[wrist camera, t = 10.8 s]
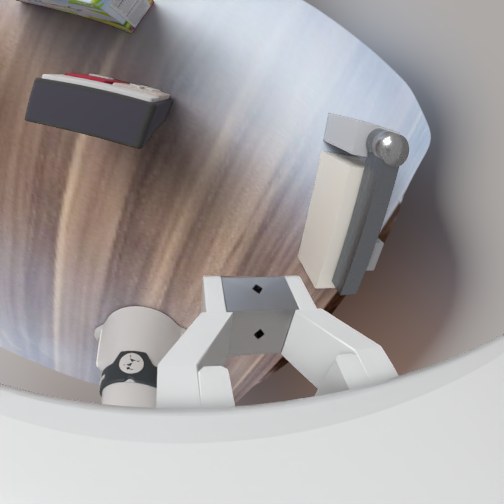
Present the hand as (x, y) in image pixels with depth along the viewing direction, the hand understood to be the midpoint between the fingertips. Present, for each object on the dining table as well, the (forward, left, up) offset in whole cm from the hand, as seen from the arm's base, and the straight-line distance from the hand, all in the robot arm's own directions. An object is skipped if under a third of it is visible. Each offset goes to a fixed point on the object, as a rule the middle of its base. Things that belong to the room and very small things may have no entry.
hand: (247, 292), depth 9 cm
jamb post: (+4, -18, -29) cm, 34 cm away
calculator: (+5, +10, -29) cm, 31 cm away
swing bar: (-5, -18, -21) cm, 28 cm away
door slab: (-8, -18, -29) cm, 35 cm away
